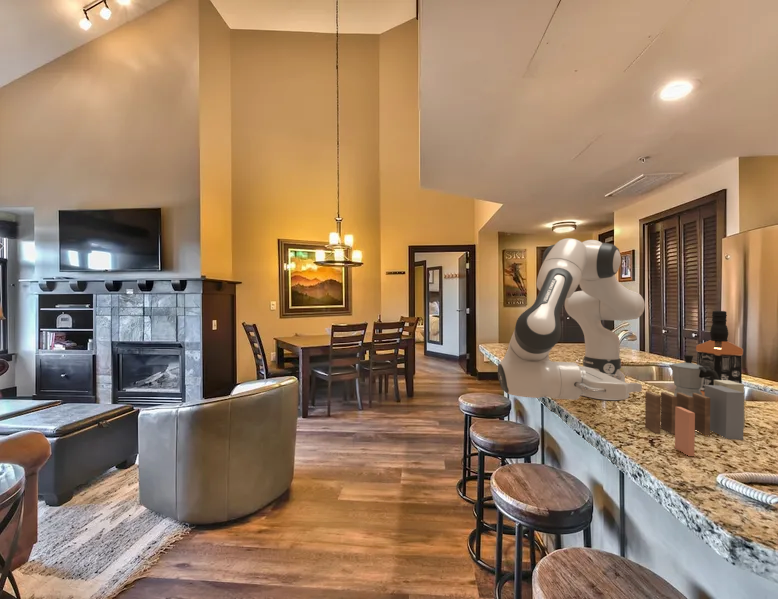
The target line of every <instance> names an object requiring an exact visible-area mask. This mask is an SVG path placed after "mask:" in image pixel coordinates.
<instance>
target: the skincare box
mask: <svg viewBox="0 0 778 599" xmlns="http://www.w3.org/2000/svg"><path fill="white" fill-rule="evenodd" d="M714 385H718V386H723V387H727V388H730V389H733V390H736V391H740V392H743V393H744V394H745V384H743V383H742V384H741V383H737V382H734V381H730V380H714ZM745 427H746V414H745V407H744V428H745Z"/></svg>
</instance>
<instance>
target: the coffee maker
mask: <svg viewBox="0 0 778 599" xmlns="http://www.w3.org/2000/svg"><path fill="white" fill-rule="evenodd" d="M683 357H684V362H678V363H673V364H668V366H669V367H670V369H671V370H672V377H673V384H674V386H675V389H674V394H673V395H674V396H676V397H677V393H683V394H686V395H689V396H691V397H693V393H698V394H701V395H702V393H701V391H700V388H702V387H703V381H704V377H710V376H712V377H713V379H712V380H711V382H710V383H709V384H708V385H714V380H719V379H720V378H719V376H718V374H717V372H716V371H714V370H711V369H710V368H709V367H703V366H700V365H697V363H694V362H693V360H694V359H693V358H694V355H692V354H683ZM703 391H704V392H705V389H704V390H703Z"/></svg>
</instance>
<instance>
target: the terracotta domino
mask: <svg viewBox="0 0 778 599" xmlns="http://www.w3.org/2000/svg"><path fill="white" fill-rule="evenodd" d="M695 432H696V431H695V413H694V412H691V411H689V410H687V409H685V408H682V407H675V434H674V449H675V450H677V449H678V450H677V451H678V452H680V451H681V452H680V453H682V452H683V453H684V454H683V453H682V454H683V455H685V454H686V455H685V456H687V455H688V456H694V457H695V446H696V445H695V444H696V443H695V442H696V441H695V440H696V438H695V437H696V434H695ZM688 456H687V457H688Z"/></svg>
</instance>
